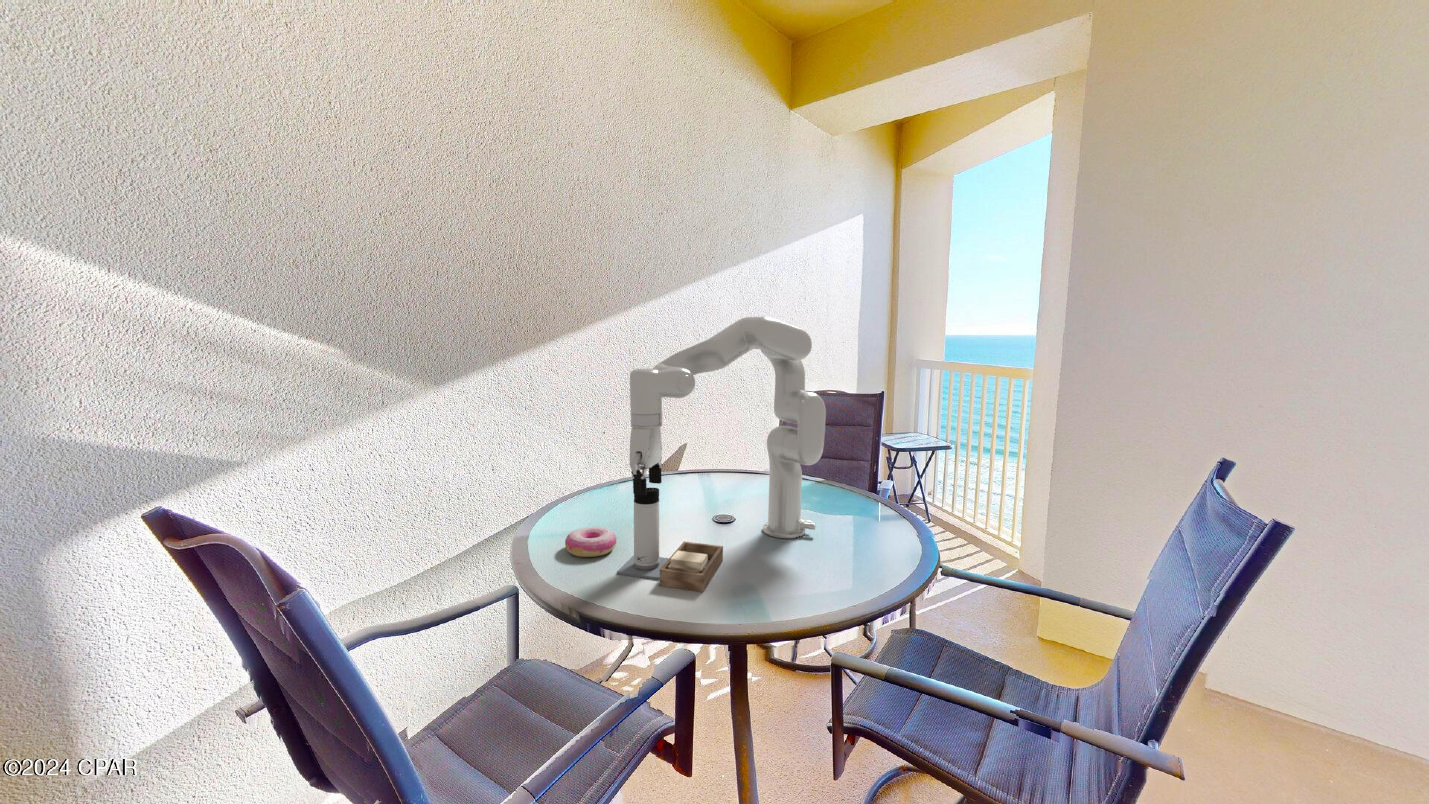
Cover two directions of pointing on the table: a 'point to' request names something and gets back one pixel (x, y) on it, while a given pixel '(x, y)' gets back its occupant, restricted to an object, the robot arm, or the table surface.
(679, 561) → the maple offcut stack
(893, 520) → the table surface
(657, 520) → the travel mug
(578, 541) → the donut
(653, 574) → the slate mat
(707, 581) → the wooden tray
